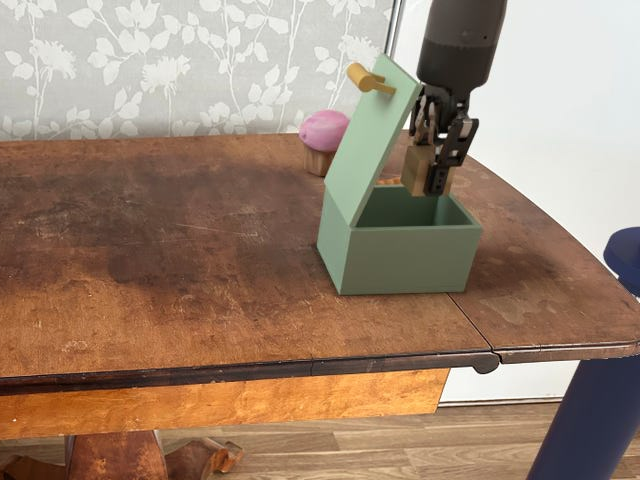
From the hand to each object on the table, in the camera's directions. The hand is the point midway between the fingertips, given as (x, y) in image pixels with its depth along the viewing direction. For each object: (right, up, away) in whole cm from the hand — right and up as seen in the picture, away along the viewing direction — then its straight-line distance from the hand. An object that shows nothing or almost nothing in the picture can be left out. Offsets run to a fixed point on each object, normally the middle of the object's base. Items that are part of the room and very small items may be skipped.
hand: (424, 185), depth 85 cm
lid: (-8, +4, -4) cm, 10 cm away
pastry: (+4, +3, +22) cm, 23 cm away
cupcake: (-5, +10, +32) cm, 34 cm away
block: (0, 0, 0) cm, 0 cm away
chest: (-3, -9, +7) cm, 12 cm away
